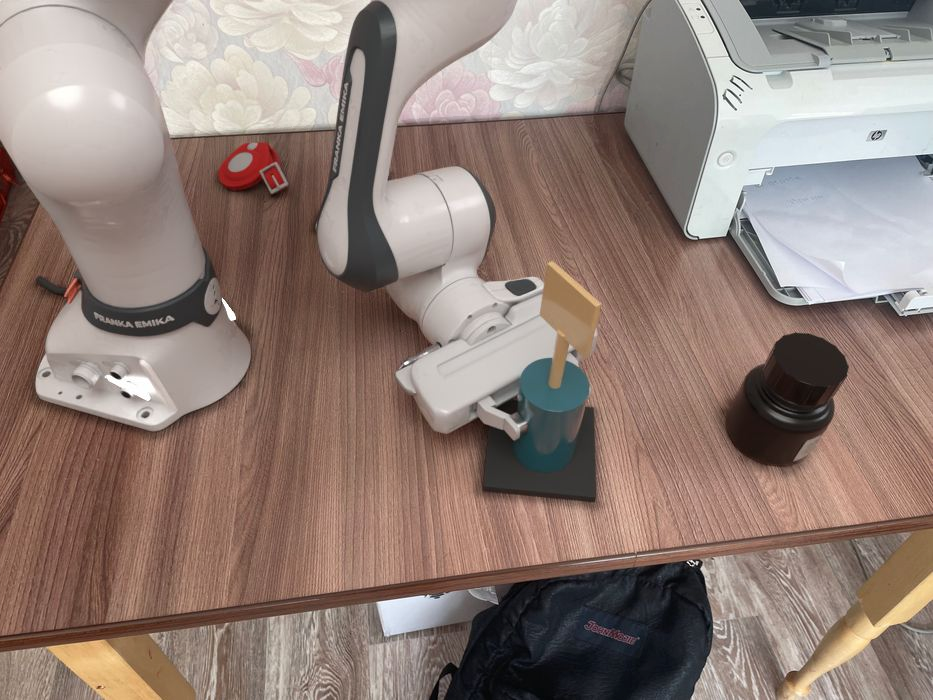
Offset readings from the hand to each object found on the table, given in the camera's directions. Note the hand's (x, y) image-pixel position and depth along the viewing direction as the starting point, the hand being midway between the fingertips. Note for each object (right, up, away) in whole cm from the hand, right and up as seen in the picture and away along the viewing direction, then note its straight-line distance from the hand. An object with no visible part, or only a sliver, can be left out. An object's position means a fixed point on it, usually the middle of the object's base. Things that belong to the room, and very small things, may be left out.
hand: (554, 414), depth 67 cm
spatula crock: (-1, -4, +5) cm, 6 cm away
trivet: (-1, -4, +6) cm, 7 cm away
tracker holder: (-39, +31, +36) cm, 61 cm away
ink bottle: (+24, -3, +8) cm, 25 cm away
